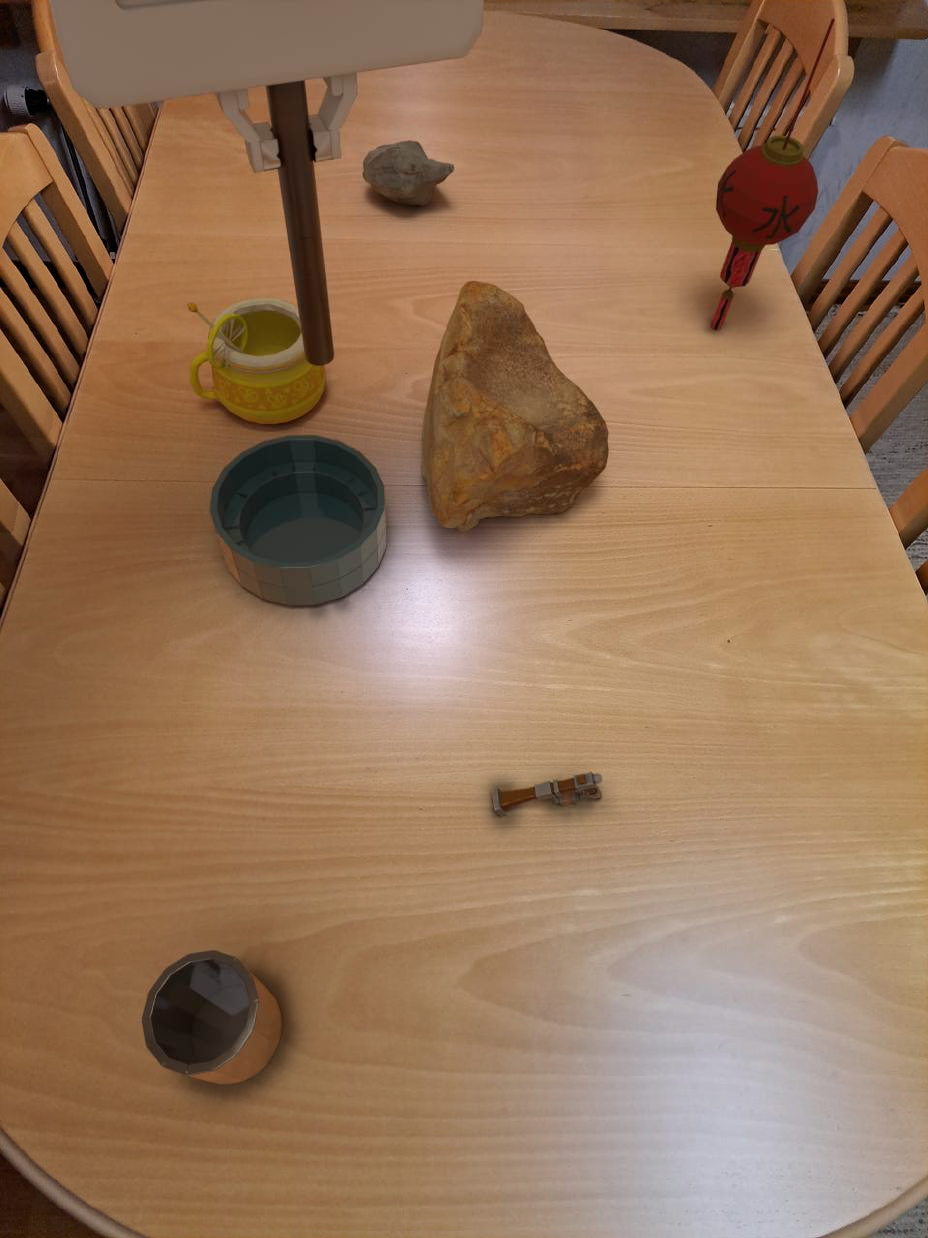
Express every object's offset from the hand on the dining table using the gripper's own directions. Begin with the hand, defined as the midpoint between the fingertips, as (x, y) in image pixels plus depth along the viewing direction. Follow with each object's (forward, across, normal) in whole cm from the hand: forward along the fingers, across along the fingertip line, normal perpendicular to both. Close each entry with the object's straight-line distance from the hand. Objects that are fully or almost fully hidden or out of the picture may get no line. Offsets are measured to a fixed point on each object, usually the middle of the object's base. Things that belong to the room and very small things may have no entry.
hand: (295, 160), depth 45 cm
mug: (+34, -2, +19) cm, 39 cm away
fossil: (+34, +23, +46) cm, 62 cm away
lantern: (+34, +48, +14) cm, 61 cm away
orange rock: (+34, +17, +1) cm, 38 cm away
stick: (+14, 0, 0) cm, 14 cm away
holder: (+33, -18, -36) cm, 52 cm away
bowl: (+34, -3, 0) cm, 34 cm away
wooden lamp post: (+34, +7, -29) cm, 45 cm away
